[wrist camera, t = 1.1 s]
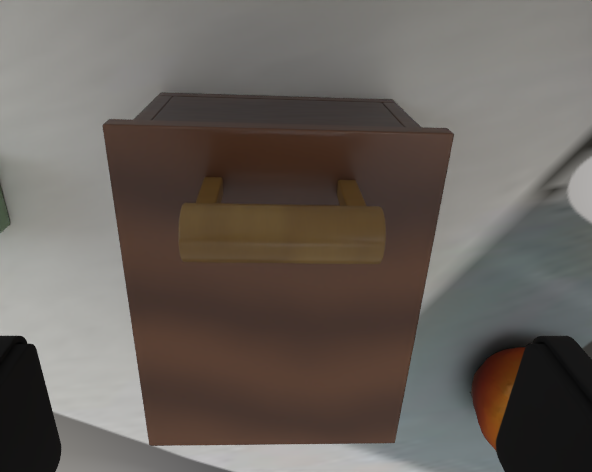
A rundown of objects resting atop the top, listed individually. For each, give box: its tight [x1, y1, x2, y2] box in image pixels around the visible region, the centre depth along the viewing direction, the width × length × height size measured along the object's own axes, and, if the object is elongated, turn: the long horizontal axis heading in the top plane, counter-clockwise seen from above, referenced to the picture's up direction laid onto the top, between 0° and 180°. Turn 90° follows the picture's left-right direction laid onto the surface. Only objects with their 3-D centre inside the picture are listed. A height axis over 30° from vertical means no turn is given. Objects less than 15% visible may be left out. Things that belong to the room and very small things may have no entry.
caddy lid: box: [103, 119, 454, 446], centre depth 19 cm, size 16×13×6 cm
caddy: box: [133, 93, 421, 128], centre depth 26 cm, size 16×13×9 cm
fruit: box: [470, 347, 526, 450], centre depth 34 cm, size 8×8×8 cm
